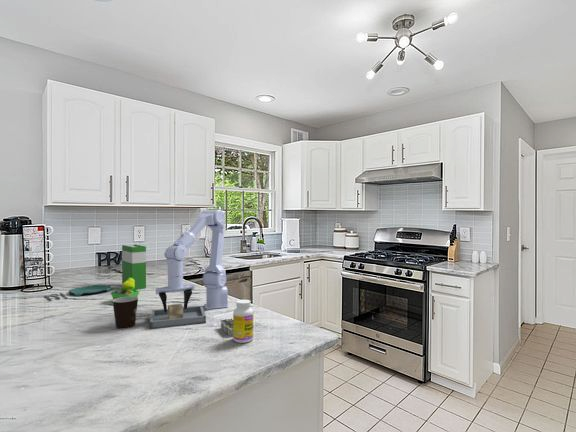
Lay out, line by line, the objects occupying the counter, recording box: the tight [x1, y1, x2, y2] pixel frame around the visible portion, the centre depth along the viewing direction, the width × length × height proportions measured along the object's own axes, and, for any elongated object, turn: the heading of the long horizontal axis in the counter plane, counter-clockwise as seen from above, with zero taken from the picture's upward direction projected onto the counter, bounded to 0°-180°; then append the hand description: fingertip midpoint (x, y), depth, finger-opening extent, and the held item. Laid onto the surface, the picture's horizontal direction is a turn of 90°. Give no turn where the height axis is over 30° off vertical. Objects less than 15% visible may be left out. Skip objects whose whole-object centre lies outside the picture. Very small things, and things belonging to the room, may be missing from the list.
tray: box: [149, 305, 207, 330], centre depth 131 cm, size 20×16×2 cm
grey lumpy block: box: [219, 317, 233, 337], centre depth 118 cm, size 11×8×4 cm
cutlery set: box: [43, 284, 112, 302], centre depth 175 cm, size 20×30×2 cm, turn 135°
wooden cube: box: [167, 303, 184, 319], centre depth 130 cm, size 5×5×5 cm
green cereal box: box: [121, 244, 147, 291], centre depth 191 cm, size 18×7×24 cm, turn 44°
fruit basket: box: [110, 278, 140, 301], centre depth 158 cm, size 11×9×11 cm
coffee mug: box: [112, 297, 139, 330], centre depth 124 cm, size 12×9×10 cm
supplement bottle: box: [232, 299, 254, 344], centre depth 109 cm, size 7×7×13 cm
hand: (175, 309), depth 130 cm, fingers open, 7 cm apart
